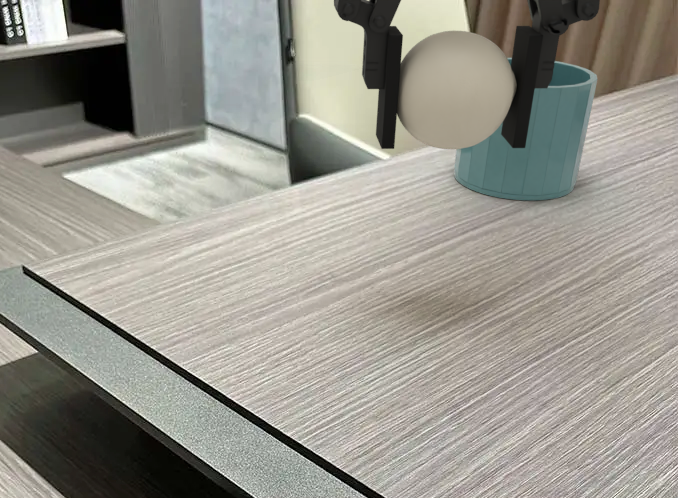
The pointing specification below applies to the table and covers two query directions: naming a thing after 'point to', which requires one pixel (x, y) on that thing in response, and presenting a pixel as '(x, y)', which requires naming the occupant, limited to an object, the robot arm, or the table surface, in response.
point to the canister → (536, 143)
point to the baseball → (454, 89)
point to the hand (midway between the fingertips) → (448, 140)
